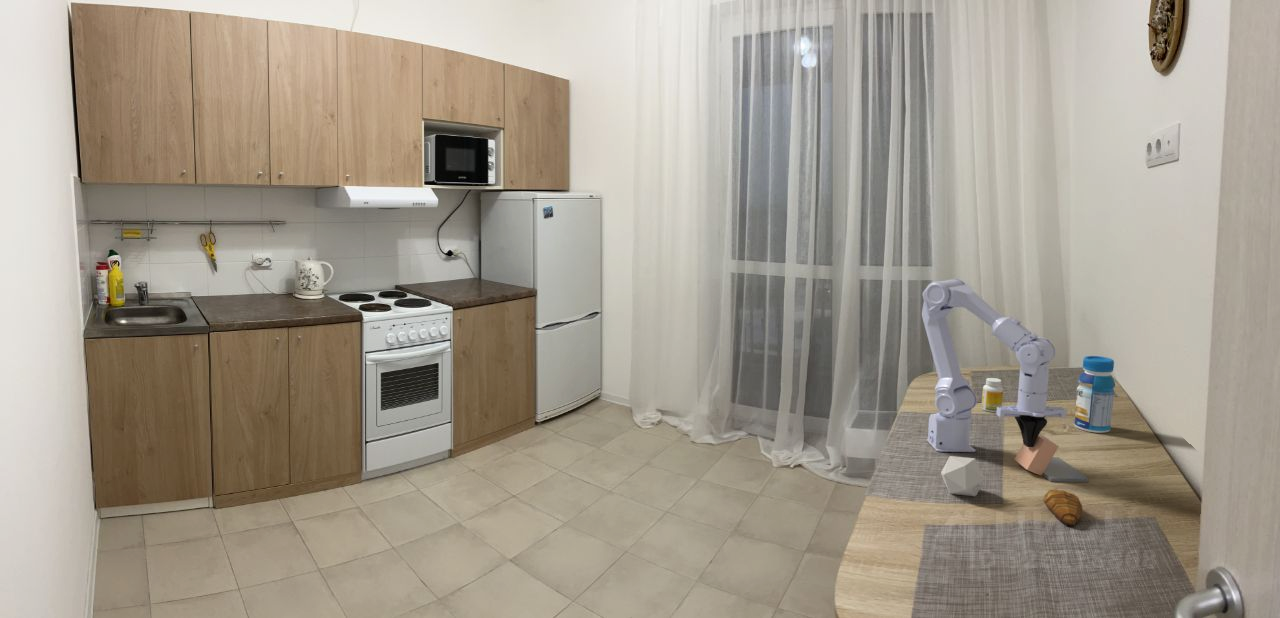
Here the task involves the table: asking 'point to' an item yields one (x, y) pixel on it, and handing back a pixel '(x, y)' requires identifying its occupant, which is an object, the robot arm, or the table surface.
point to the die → (962, 476)
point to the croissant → (1063, 506)
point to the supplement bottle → (992, 395)
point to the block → (1037, 455)
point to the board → (1062, 472)
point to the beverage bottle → (1095, 395)
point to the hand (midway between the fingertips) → (1028, 445)
